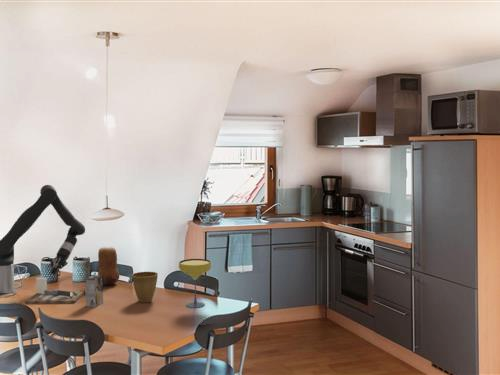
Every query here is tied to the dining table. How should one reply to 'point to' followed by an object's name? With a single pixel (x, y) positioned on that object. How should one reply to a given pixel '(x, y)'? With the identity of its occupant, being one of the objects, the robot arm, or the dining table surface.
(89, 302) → the coffee box
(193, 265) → the cocktail glass
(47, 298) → the board
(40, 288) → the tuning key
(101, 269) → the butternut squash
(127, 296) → the dining table surface
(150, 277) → the plant pot
